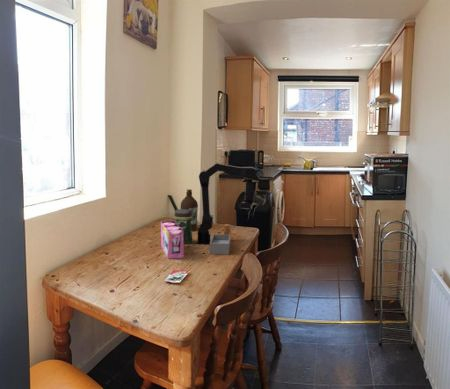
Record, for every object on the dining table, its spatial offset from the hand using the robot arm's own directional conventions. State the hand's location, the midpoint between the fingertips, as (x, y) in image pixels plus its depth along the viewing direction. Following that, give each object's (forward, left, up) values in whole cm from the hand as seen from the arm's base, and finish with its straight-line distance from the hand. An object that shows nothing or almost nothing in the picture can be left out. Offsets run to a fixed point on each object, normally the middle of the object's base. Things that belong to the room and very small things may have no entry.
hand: (249, 218), depth 231 cm
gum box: (-39, -20, -14) cm, 46 cm away
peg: (-12, +4, -14) cm, 19 cm away
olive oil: (-37, +27, -14) cm, 48 cm away
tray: (-15, -13, -14) cm, 24 cm away
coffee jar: (-36, -2, -14) cm, 39 cm away
